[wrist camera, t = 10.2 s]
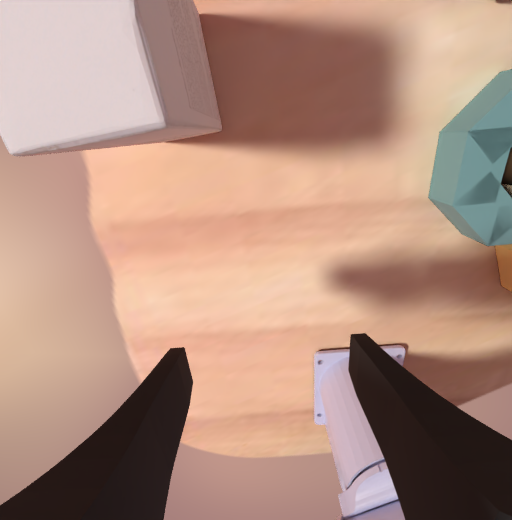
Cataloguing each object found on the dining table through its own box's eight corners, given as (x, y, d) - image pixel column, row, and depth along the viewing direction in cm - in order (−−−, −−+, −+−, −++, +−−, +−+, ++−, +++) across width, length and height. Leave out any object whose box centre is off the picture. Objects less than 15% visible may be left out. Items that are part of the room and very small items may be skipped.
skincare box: (124, 28, 15) (-226, -270, 4) (199, 11, 15) (46, -356, 4) (159, 146, 17) (3, 161, 6) (224, 133, 17) (176, 126, 6)
